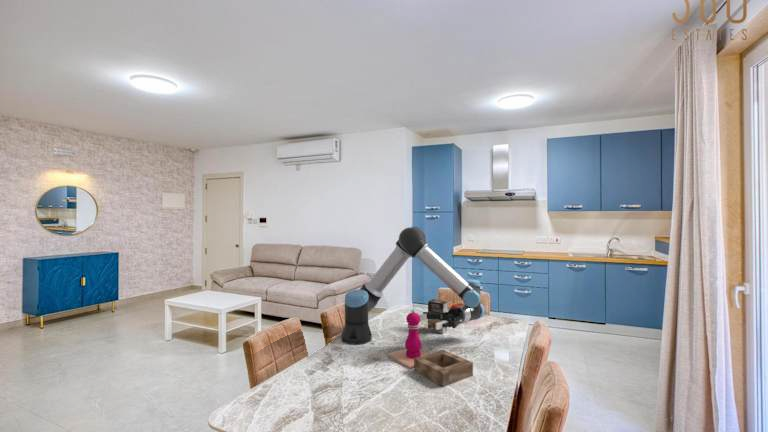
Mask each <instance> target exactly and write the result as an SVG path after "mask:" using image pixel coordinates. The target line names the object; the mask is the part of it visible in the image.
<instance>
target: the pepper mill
mask: <svg viewBox="0 0 768 432" xmlns="http://www.w3.org/2000/svg"><path fill="white" fill-rule="evenodd" d="M419 315H420V314H418V313H417V312H416V310H415V309H411V311H410V313H408V314H407V315H406V323H407V328H408V335H407V338H406V339H405V343H404V347H405V348H404V349H407V351H406V356H407V357H408V358H417V357H420V356H421V352H420V351H419V350H420V349H422V348H423V346H422V345H423V344H422V341H421V339H420V336H419V329H420V324H419V323H420V322H421V321H420V316H419Z"/></svg>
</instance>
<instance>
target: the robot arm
mask: <svg viewBox="0 0 768 432" xmlns="http://www.w3.org/2000/svg"><path fill="white" fill-rule="evenodd" d="M426 240H427V236H426V233H425V232H424V230H423V229H421V228H420V227H418V226H411V227H407V228H406V227H405V228H404V229H403V230H401V232H399V235H398V239H397V241H396V242H395V248H394V249H393V250H392V252H391V253H390V255H389V256H388V257H387V258H386V260H384V262H383V263H382V264H381V266H380V267H379V269H378V270H377V271H376V272H375V274H374V275H373V276H372V277H371V279H370V280H369V281H365V282H364V283H363V284H362V285H361V287H360V288H359V289H353V290H349V291H348V292H346V293H345V296H344V326H343V327H342V328H343V329H342V331H341V335H340V336H341V337H340V338H341V340H340V341H341V342H343V343H345V344H348V345H363V344H366V343H367V344H368V343H369V342H371V341H372V339H373V338H372V337H373V334H372V330H371V328H370V325H369V312H370V311H371V310H373V309H374V308H375V307H376V306H377V305H378V304H379V301H380V300H381V299H382V297H383V291H384V290H385V289H386V287H387V286H388V285H389V284H390V282H391V281H392V280H393V278H394V277H395V276H396V275H397V273H399V271H400V270H401V268H402V267H403V266H404V265H405V263H407V261H408V259H409V258H413V259H417V260H419V261H420V263H422V264H423V265H424V266H425V267H426V268H427V269H428V270H429V271H430V272H432V273H433V274H434V275H435V276H436V277H437V278H438V279H439V280H440V281H442V283H444V284H445V285H446V286H447V287H448V288H449V289H450V290H452V291H453V293H455V294H456V295H457V296H458V297H459V299H461V300H462V301H463V304H465V305H464V306H459V307H455V308H451V307H450V308H451V309H450V308H449V309H448V310H447V312H445V313H443V311H437V312H428V311H423V312H422V314H418V315H419V316H420V322H422V321H428V319H439V320H445V321H443V322H438V323H436V330H439V329H443V328H447V329H448V328H452V329H456V328H457V327H458V326H459V325H460V324H465V323H466V322H471V321H476V320H479V319H482V318H483V317H484V316H485V314H486V309H485V306H484V305H483V304H482V303H481V300H482V298H481V281H480V280H478V279H465V278H463V276H461V275H460V274H459V273H458V272H457V271H456V270H454V268H452V267H451V266H450V265H449V264H448V263H447V262H446V261H444V260H443V258H441V257H440V256H439V255H438V254H436V252H435V251H433V249H431V248H430V246H429V243H428V242H426ZM441 317H442V319H441Z"/></svg>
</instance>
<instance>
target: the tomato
mask: <svg viewBox="0 0 768 432" xmlns="http://www.w3.org/2000/svg"><path fill="white" fill-rule="evenodd" d="M464 305H465V303H461V302H460V303H459V302H456V304H452V305H451V307H450V308H449V310H450V309H451V308H455V307H459V306H464Z"/></svg>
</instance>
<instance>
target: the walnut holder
mask: <svg viewBox="0 0 768 432" xmlns="http://www.w3.org/2000/svg"><path fill="white" fill-rule="evenodd" d="M429 353H430V354H427V355H424V356H420V357H417V358H414V368H413V371H414V372H415V373H417V374H419V375H420V376H422V377H424V378H426V379H428V380H430V381H432V382H433V383H435V384H436V385H439V386H441V387H442V388H445V387H447V386H449V385H452V384H454V383H457V382H460V381H462V380H465V379H468V378H470V377H472V376H474V374H473V373H474V362H473V361H470V360H468V359H466V358H464V357H461V356H459V355H456V354H455V353H452V352H449V351H447V350H445V349H441V350H438V351H434V352H429Z"/></svg>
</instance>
